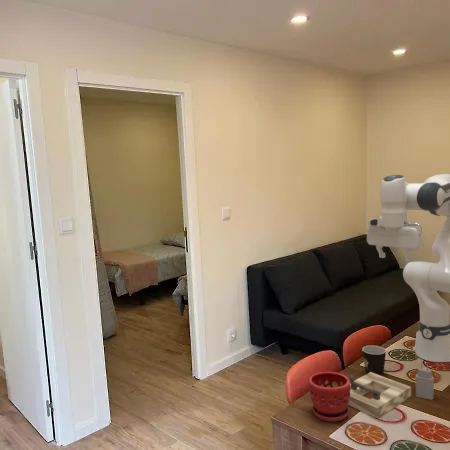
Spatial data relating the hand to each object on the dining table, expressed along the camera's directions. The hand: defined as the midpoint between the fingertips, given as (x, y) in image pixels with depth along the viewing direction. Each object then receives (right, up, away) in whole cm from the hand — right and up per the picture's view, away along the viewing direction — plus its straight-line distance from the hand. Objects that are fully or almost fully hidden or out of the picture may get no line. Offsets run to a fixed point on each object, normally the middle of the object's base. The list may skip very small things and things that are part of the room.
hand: (393, 259), depth 162 cm
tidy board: (-9, -48, -6) cm, 49 cm away
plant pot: (-26, -50, -14) cm, 58 cm away
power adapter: (+8, -47, -7) cm, 48 cm away
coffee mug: (-3, -45, +13) cm, 47 cm away
